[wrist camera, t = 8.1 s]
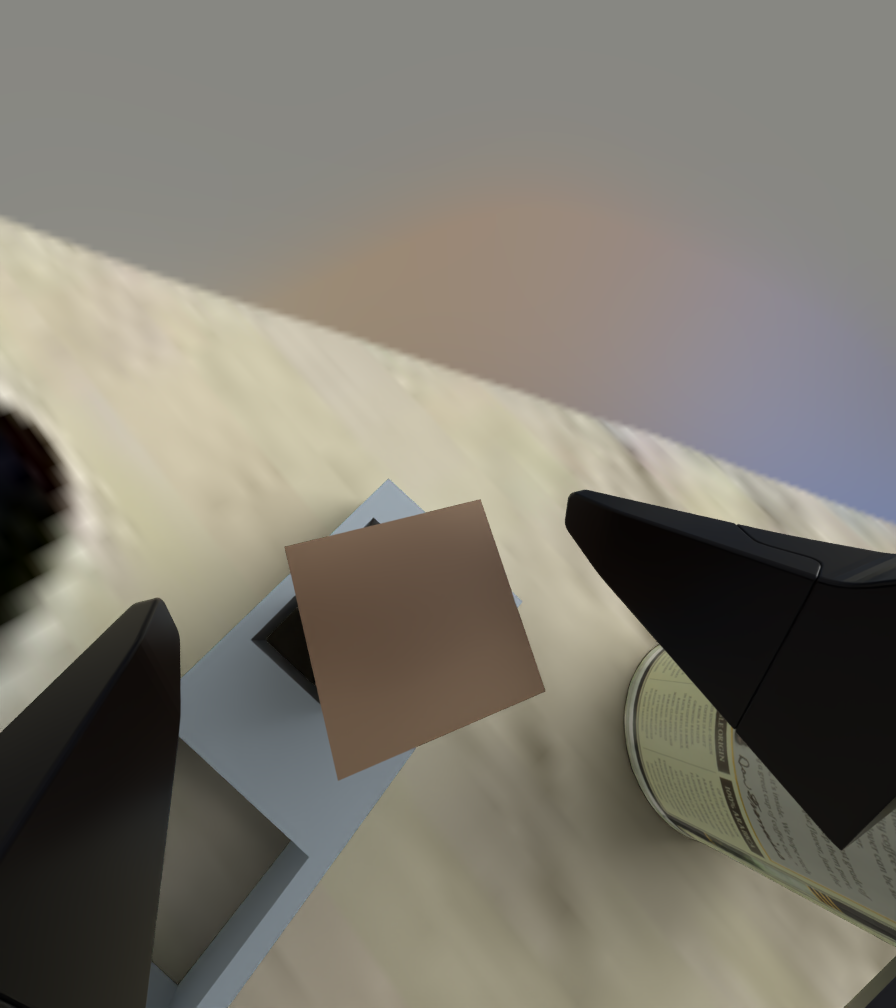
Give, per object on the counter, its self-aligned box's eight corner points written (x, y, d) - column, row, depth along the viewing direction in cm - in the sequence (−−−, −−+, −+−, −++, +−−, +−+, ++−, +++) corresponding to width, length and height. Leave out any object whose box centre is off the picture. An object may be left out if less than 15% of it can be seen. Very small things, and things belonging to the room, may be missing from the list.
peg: (425, 662, 21) (545, 691, 9) (332, 696, 19) (338, 781, 8) (399, 573, 22) (480, 499, 10) (309, 599, 20) (284, 546, 9)
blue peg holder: (378, 504, 22) (388, 478, 19) (490, 607, 22) (522, 601, 19) (-86, 962, 14) (-236, 1079, 10) (94, 1130, 14) (9, 1309, 10)
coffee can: (736, 617, 26) (1132, 595, 13) (804, 803, 24) (1371, 998, 11) (597, 656, 23) (938, 679, 10) (658, 876, 21) (1215, 1274, 8)
